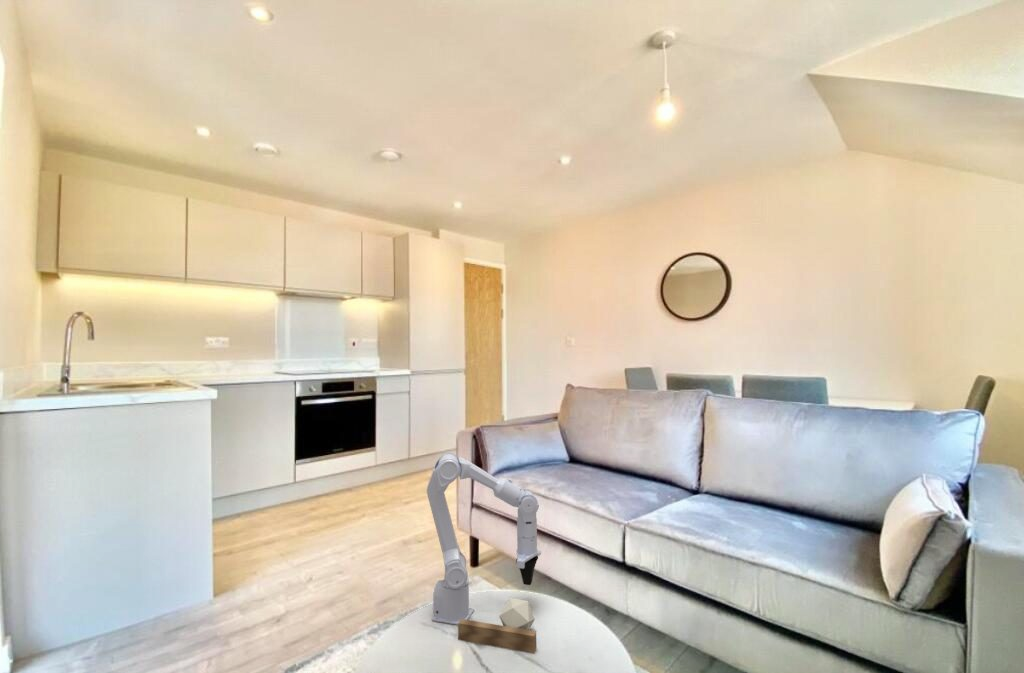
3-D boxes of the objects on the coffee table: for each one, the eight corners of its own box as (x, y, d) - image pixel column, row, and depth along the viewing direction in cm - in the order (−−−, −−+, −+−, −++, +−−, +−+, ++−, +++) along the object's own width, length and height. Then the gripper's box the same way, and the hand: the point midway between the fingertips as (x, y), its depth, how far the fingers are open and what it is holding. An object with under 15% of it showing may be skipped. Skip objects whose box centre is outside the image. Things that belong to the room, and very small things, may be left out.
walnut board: (458, 639, 110) (458, 623, 110) (461, 635, 112) (461, 618, 112) (534, 653, 104) (534, 636, 104) (536, 648, 106) (536, 631, 106)
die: (539, 630, 114) (524, 591, 120) (538, 630, 107) (523, 589, 112) (511, 645, 113) (497, 605, 118) (508, 646, 106) (494, 604, 111)
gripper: (534, 545, 117) (534, 598, 116) (546, 527, 131) (546, 574, 130) (509, 543, 119) (509, 594, 118) (523, 525, 133) (524, 571, 132)
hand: (527, 583), depth 124 cm, fingers closed
